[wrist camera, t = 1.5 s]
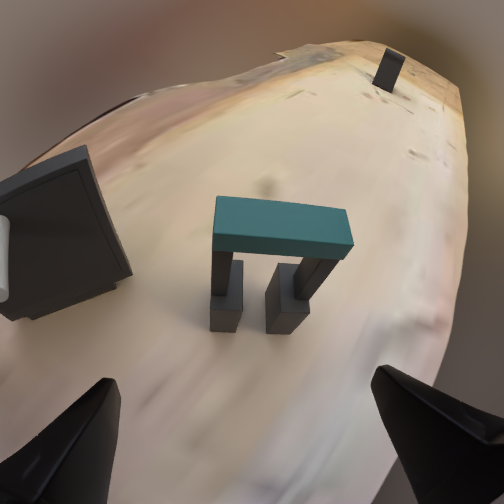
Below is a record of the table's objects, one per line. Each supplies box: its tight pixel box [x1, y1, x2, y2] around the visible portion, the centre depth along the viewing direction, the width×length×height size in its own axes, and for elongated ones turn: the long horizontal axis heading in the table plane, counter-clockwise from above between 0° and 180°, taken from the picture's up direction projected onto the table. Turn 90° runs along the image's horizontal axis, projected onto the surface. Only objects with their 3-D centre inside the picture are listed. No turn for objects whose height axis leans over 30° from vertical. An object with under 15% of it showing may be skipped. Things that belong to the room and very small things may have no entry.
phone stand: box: [372, 48, 405, 93], centre depth 60 cm, size 9×6×12 cm, turn 152°
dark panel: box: [0, 145, 133, 321], centre depth 17 cm, size 13×14×14 cm
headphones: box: [210, 196, 354, 334], centre depth 19 cm, size 4×7×13 cm, turn 90°
